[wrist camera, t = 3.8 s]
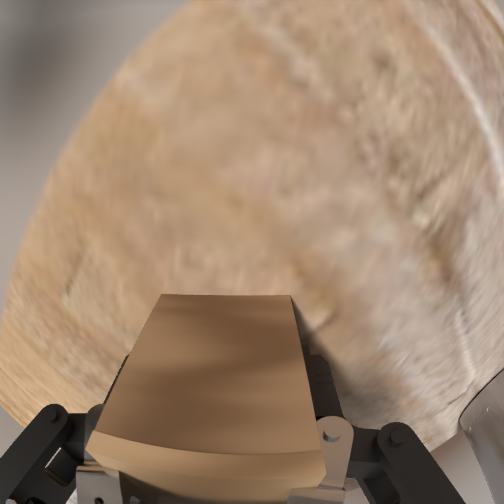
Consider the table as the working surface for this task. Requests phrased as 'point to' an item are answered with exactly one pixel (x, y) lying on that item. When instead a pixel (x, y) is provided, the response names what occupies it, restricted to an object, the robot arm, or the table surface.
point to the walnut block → (213, 404)
